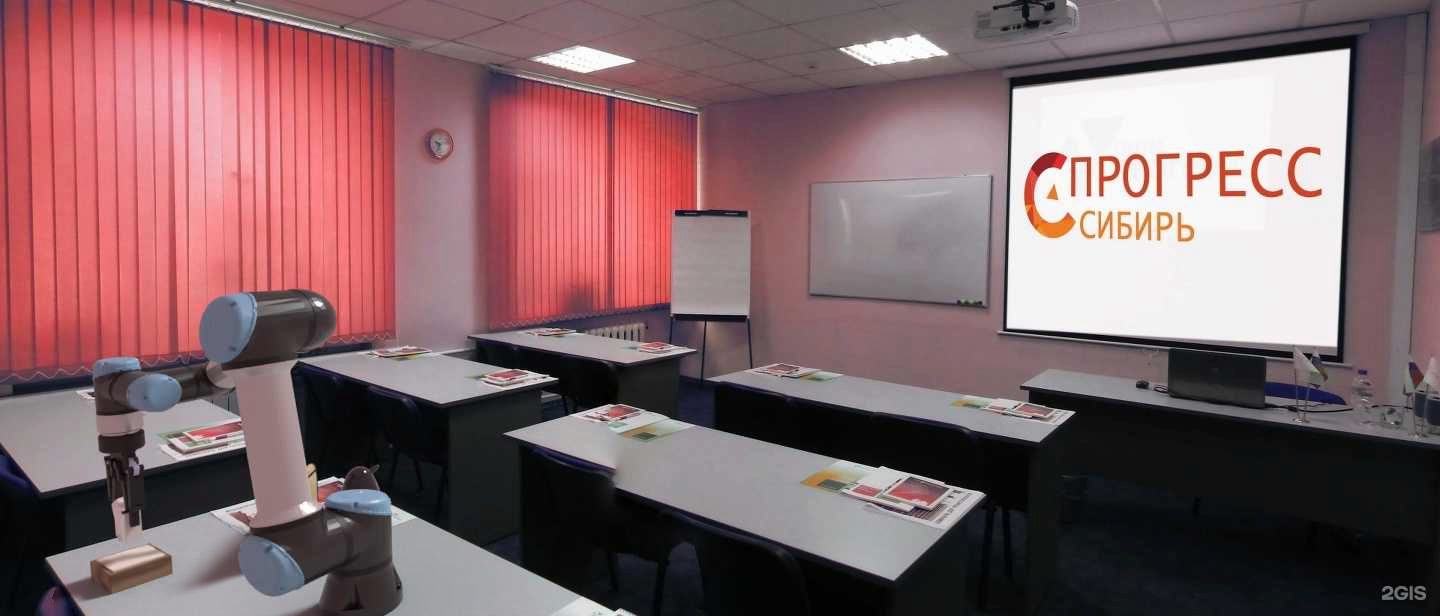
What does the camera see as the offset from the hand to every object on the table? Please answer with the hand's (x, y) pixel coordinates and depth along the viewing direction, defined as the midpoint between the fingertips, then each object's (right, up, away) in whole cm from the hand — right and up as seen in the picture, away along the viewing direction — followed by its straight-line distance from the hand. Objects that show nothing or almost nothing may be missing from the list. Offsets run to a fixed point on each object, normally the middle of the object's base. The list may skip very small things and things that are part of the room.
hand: (129, 536), depth 151 cm
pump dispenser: (+35, -6, +29) cm, 46 cm away
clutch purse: (+22, -7, +19) cm, 30 cm away
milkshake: (0, -1, 0) cm, 1 cm away
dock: (0, -9, +1) cm, 9 cm away
